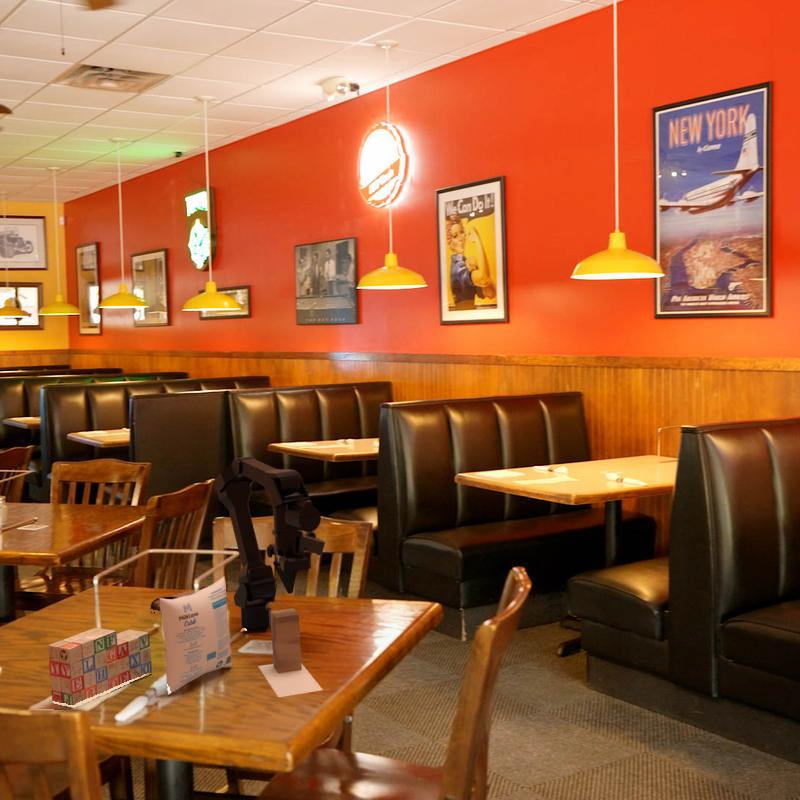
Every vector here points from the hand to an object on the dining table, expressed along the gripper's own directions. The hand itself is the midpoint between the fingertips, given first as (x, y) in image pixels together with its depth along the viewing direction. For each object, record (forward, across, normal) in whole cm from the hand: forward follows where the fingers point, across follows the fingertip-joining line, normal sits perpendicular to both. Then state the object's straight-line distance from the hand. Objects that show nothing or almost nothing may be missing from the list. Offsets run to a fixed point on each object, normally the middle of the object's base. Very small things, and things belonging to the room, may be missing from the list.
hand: (290, 593), depth 229 cm
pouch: (+12, -15, +23) cm, 30 cm away
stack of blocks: (+12, -10, +42) cm, 45 cm away
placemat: (+12, -22, +6) cm, 26 cm away
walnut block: (+12, -16, +5) cm, 21 cm away
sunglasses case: (+13, +44, +18) cm, 50 cm away
